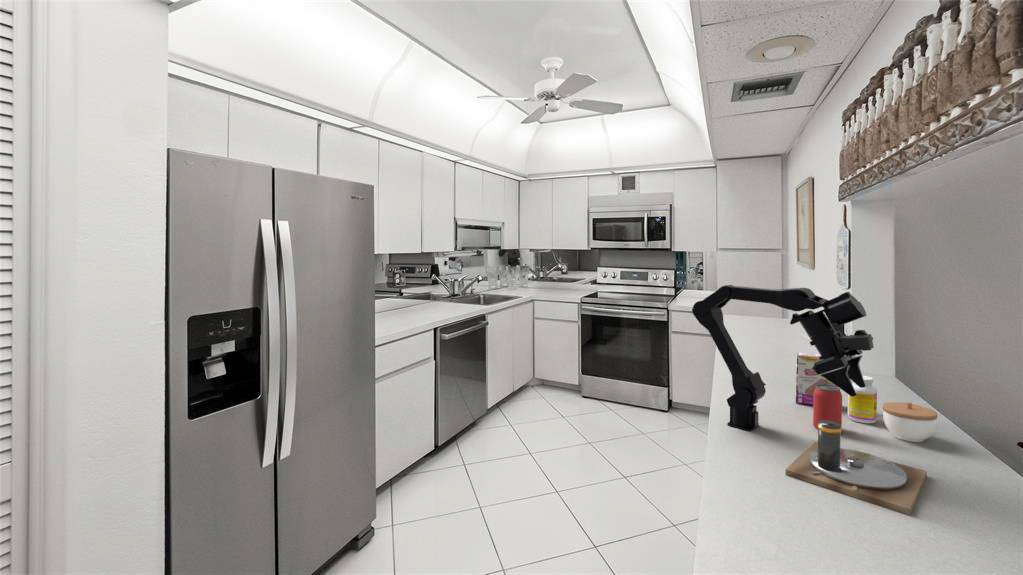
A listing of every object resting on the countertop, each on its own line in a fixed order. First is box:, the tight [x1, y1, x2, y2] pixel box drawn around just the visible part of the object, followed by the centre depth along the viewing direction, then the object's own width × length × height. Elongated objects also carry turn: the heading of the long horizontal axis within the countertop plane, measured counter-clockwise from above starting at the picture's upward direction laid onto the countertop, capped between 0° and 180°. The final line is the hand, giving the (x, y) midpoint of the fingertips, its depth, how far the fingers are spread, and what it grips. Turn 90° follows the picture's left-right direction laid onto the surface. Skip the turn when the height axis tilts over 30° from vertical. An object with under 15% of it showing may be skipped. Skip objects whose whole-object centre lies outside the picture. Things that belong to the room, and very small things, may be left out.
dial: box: [809, 420, 907, 491], centre depth 96 cm, size 17×17×11 cm
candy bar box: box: [795, 352, 838, 406], centre depth 140 cm, size 11×5×16 cm, turn 58°
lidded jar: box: [882, 401, 938, 443], centre depth 114 cm, size 11×11×9 cm
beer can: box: [812, 384, 843, 431], centre depth 121 cm, size 7×7×12 cm
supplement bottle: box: [847, 375, 878, 424], centre depth 126 cm, size 7×7×13 cm
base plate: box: [785, 441, 928, 516], centre depth 96 cm, size 21×21×2 cm
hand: (858, 391), depth 104 cm, fingers open, 9 cm apart
